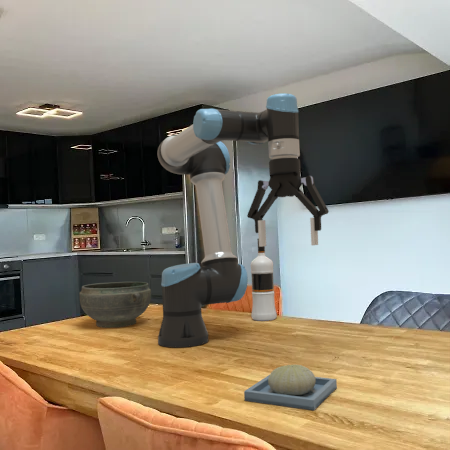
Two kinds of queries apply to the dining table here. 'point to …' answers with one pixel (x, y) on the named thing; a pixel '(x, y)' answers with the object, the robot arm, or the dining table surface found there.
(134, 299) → the bowl
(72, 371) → the dining table surface
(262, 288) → the vodka
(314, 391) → the tray
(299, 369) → the sea urchin shell
